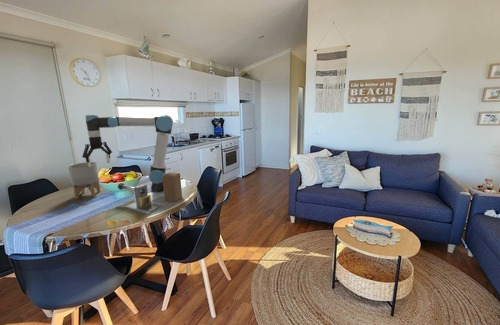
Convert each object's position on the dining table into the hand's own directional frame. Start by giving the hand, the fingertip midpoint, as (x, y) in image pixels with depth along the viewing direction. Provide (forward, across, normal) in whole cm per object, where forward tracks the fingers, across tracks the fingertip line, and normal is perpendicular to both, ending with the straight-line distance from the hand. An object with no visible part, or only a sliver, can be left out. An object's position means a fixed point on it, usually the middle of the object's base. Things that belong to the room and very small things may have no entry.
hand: (99, 164), depth 181 cm
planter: (+29, 0, -26) cm, 39 cm away
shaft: (+19, -6, +26) cm, 33 cm away
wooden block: (+29, -26, +46) cm, 60 cm away
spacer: (+27, -6, +41) cm, 49 cm away
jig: (+29, -6, +40) cm, 49 cm away
